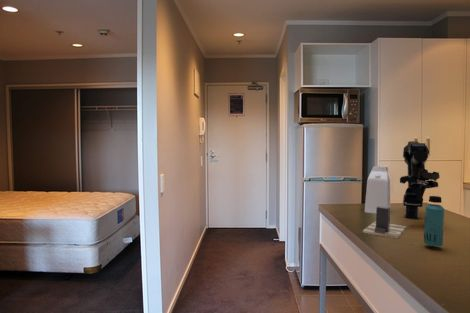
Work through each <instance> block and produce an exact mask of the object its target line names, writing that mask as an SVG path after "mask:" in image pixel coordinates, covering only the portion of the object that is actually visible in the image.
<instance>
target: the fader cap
mask: <svg viewBox="0 0 470 313" xmlns="http://www.w3.org/2000/svg"><path fill="white" fill-rule="evenodd" d="M375 214H376V215H375V222H376V228H381V229H385V232H388V231H389V227H390V224H391V223H390V222H391V221H390V220H391V207H390V208H388V207H380V206H378V207H377V210H376V213H375Z"/></svg>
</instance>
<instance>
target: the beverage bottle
mask: <svg viewBox="0 0 470 313" xmlns="http://www.w3.org/2000/svg"><path fill="white" fill-rule="evenodd" d="M428 202H430V203H429V204H427V205H426V206H425V212H424V227H423V228H424V229H423V242H424V244H425V245H427V246H431V247H437V248H438V247H439V248H440V247H443V245H444V222H445V221H444V219H445V208H444V207H443V206H442V205H441V203H442V197H441V196H439V195H429V197H428ZM433 203H434V204H433ZM435 203H436V204H435Z"/></svg>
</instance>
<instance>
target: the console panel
mask: <svg viewBox="0 0 470 313" xmlns="http://www.w3.org/2000/svg"><path fill="white" fill-rule="evenodd" d="M406 229H407V226H406V225H400V224H393V223H390V227H389V231H388V232H385V229H381V228H376V221H373V222H372V223H371V224H369V225H368V226H367V227H365V228H364V229H363V230H362V233H364V234H369V235H373V236H379V237H386V238H391V239H395V240H396V239H399V238H400V236H402V234H403V233H404V232H405V231H406Z"/></svg>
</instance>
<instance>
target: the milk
mask: <svg viewBox="0 0 470 313" xmlns="http://www.w3.org/2000/svg"><path fill="white" fill-rule="evenodd" d="M371 168H372V169H371V171H370V173H369V175H368V177H367V181H366V192H365V201H364V202H365V204H364V213H369V214H376V210H377V207H378V206H380V207H388V208H390V209H391V178H390V175H389V173H388V171H387V169H386V167H385V166H379V165H378V166H376V165H375V166H374V165H373V167H371Z"/></svg>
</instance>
